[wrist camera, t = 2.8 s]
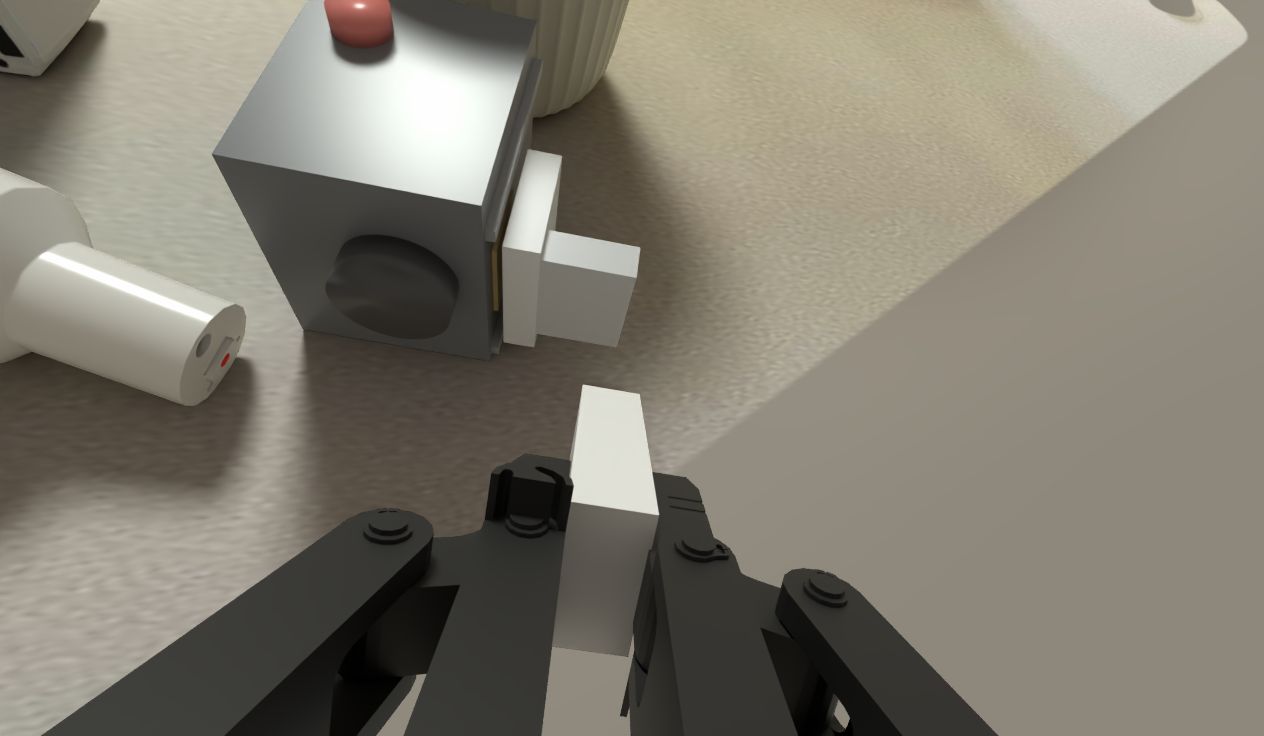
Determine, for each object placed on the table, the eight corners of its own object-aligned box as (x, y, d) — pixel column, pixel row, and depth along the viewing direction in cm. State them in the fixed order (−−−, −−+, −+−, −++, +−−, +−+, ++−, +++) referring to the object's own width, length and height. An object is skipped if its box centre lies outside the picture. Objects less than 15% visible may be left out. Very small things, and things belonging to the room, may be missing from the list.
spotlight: (41, 212, 30) (-83, 105, 23) (284, 307, 32) (244, 238, 25) (-74, 364, 27) (-258, 298, 20) (200, 456, 30) (126, 428, 22)
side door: (503, 342, 31) (502, 246, 25) (524, 254, 34) (527, 149, 28) (612, 361, 31) (638, 271, 25) (624, 273, 34) (650, 173, 28)
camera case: (290, 357, 30) (176, 164, 20) (372, 169, 36) (318, -52, 26) (490, 390, 31) (481, 222, 21) (536, 201, 37) (546, 0, 27)
